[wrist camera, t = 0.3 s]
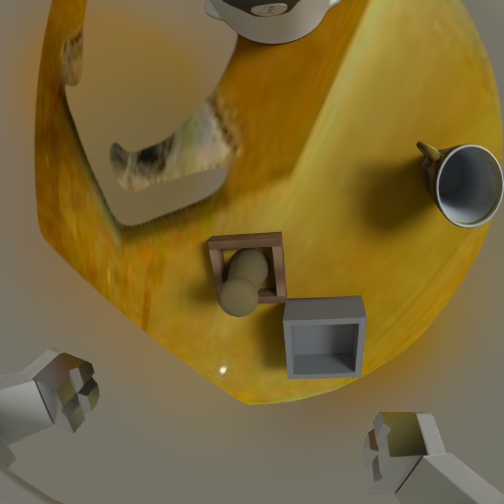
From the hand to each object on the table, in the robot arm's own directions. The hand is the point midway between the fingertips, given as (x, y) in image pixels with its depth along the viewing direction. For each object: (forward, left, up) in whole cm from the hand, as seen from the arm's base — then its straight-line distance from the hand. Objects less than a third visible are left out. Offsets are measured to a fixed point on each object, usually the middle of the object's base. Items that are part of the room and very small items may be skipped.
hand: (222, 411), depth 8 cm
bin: (+26, +3, -38) cm, 46 cm away
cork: (+14, -8, -39) cm, 42 cm away
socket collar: (+14, -8, -39) cm, 42 cm away
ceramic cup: (0, +20, -39) cm, 44 cm away
